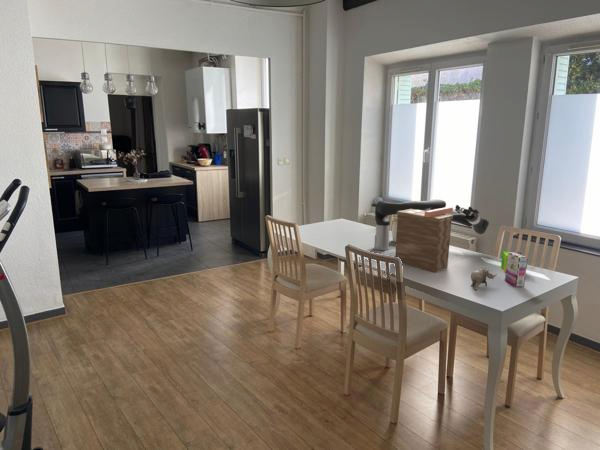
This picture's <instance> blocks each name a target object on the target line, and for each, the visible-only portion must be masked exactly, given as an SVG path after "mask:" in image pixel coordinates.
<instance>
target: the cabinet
mask: <svg viewBox="0 0 600 450" xmlns="http://www.w3.org/2000/svg"><path fill="white" fill-rule="evenodd" d="M425 211H426V210H424V211H423V210H415V209H408V210H402V211H397V214H396V215H397V235H396V243H395V255H394V258H395V257H399V258H400V259H401V261H402V263H403V264H402V265H405V266H409V267H411V268H412V267H413V268H417V269H420V270H423V271H428V272H432V273H437V272H441V271H443V270H446V269H448V265H449V256H450V255H449V253H450V242H451V233H452V232H451V231H452V230H451V229H452V222H453V221H452V219H453V216H452V215H446V214H442V215H437V216H433V217H424V215H425Z"/></svg>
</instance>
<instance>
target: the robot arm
mask: <svg viewBox="0 0 600 450" xmlns="http://www.w3.org/2000/svg"><path fill="white" fill-rule="evenodd" d="M445 207H447V203H446V201H445V200H442V199H429V200H406V201H402V202H400V203H399V202H398V203H397V202H396V203H395V202H388V201H386V200H380V201H378V202H377V203H376V204H375V207H374V208H375V210H374V212H375V213H374V218H375V219H374V220H375V234H374V249H373V250H378V251H388V250H389V242H390V224H391V221H390V220H389V216H393V215H397V211H402V210H408V209H415V210H423V211H427V209H429V210H434V209H440V208H445ZM454 207H455V209H454V211H455V212H456V213H447V214H446V215H452V216H453V219H452V221H451V222H454V223H455V222H456V223H458V224H462V225H464V226H466V227H469V228H470V227H473V230H474V232H475V233H476V234H478V235H483V234H485V233H486V231H487V229H488V227H489V225H490V223H489V220H488V219H486V218H482V217H481V216H480V212H479V210H478V209H475V208H472V207H471V206H468V207H467V208H465V207H461V206H460V205H458V204H456V205H455V206H454Z"/></svg>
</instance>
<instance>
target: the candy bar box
mask: <svg viewBox="0 0 600 450" xmlns="http://www.w3.org/2000/svg"><path fill="white" fill-rule="evenodd" d="M507 252H508V258H507V267H506V272H505V277H504V282H507V283H508V284H510V285H512V286H514V287H515V288H524V287H525V283H526V282H525V281H526V274H527V273H526V272H527V266H528V258H529V257H527V256H525V255H524V254H523V255H524V256H523V255H521V254H522V253H521V254H519V253H520V252H519V253H517V252H518V251H517V252H516V251H507Z"/></svg>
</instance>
